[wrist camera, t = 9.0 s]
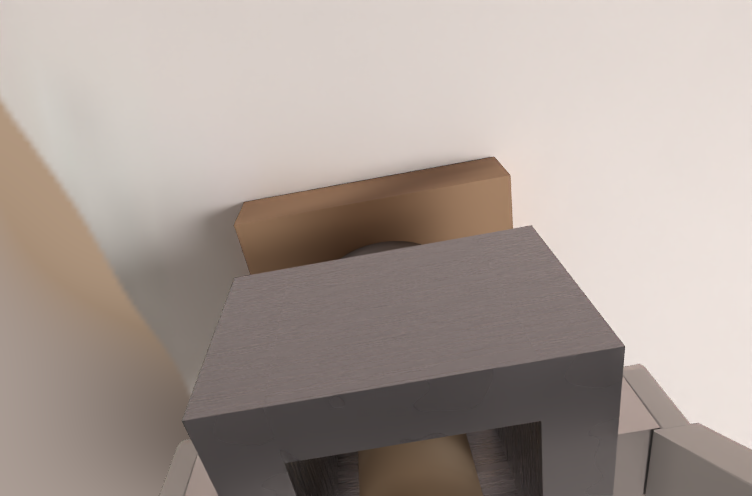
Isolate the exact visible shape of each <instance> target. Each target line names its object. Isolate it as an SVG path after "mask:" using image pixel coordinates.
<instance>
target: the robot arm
mask: <svg viewBox="0 0 752 496" xmlns="http://www.w3.org/2000/svg"><path fill="white" fill-rule="evenodd" d="M159 496H218V494H217V492H216V490H215V488H214V486H213V484H212V482H211V480H210V478H209V476H208V474H207V472H206V470H205V468H204V465H203V463H202V461H201V459H200V457H199V455H198V453H197V451H196V449H195V447H194V445H193V443H192V441H191V439H189V440H183V441H182V442H181V443H180V444H179V445H178V446H177V448H176V451H175V453H174V456H173V459H172V462H171V464H170V467H169V470H168V473H167V475H166V478H165V481H164V484H163V486H162V489H161V493H160V495H159ZM613 496H752V450H751V449H749V448H747V447H745V446H743V445H741V444H739V443H737V442H735V441H733V440H731V439H729V438H727V437H725V436H723V435H721V434H719V433H717V432H715V431H713V430H711V429H710V428H708V427H706V426H704V425H702V424H700V423H693V424H690V423H689V421H688V420H687V419H686V418H685V416H684V415H683V414H682V413H681V411H680V410H679V409H678V408H677V406H676V405H675V404H674V403H673V401H672V400H671V399H670V398H669V396H668V395H667V394H666V393H665V391H664V390H663V389H662V388H661V386H660V385H659V384H658V383H657V381H656V380H655V379H654V378H653V376H652V375H651V374H650V373H649V371H648V370H647V369H646V368H645V367H644V366H643V365H641V364H636V365H630V366H625V367H623V378H622V390H621V402H620V415H619V427H618V439H617V452H616V464H615V477H614V489H613Z"/></svg>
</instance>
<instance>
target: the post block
mask: <svg viewBox="0 0 752 496" xmlns="http://www.w3.org/2000/svg"><path fill="white" fill-rule="evenodd" d="M234 227H235V230H236V233H237V236H238V239H239V242H240V245H241V248H242V251H243V254H244V257H245V260H246V263H247V266H248V269H249V272H250V275H253V274H259V273H264V272H270V271H276V270H281V269H287V268H293V267H298V266H304V265H310V264H315V263H321V262H327V261H333V260H338V259H344V258H350V257H355V256H361V255H367V254H372V253H378V252H384V251H389V250H395V249H401V248H406V247H412V246H418V245H423V244H429V243H435V242H440V241H446V240H452V239H457V238H463V237H469V236H474V235H480V234H486V233H491V232H497V231H503V230H508V229H513V221H512V199H511V177H510V174H509V173H508V172H507V171H506V170H505V168H504V167H503V166H502V165H501V164H500V163H499V162H498V160H497V159H496V158H495V157H491V158H485V159H480V160H474V161H468V162H463V163H457V164H452V165H446V166H441V167H435V168H430V169H424V170H419V171H413V172H408V173H402V174H397V175H391V176H386V177H380V178H375V179H369V180H364V181H358V182H353V183H347V184H342V185H336V186H331V187H325V188H320V189H314V190H308V191H303V192H297V193H292V194H286V195H281V196H275V197H270V198H264V199H259V200H253V201H248V202H244V204H243V206H242V208H241V210H240V213H239V215H238V217H237V219H236V221H235V224H234ZM358 467H359V496H483V493H482V490H481V486H480V482H479V479H478V475H477V471H476V468H475V464H474V460H473V457H472V453H471V450H470V446H469V442H468V439H467V435H466V433H465V434H459V435H452V436H446V437H440V438H434V439H428V440H422V441H416V442H410V443H404V444H398V445H392V446H386V447H380V448H374V449H368V450H362V451H358Z"/></svg>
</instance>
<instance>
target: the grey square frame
mask: <svg viewBox="0 0 752 496" xmlns="http://www.w3.org/2000/svg"><path fill="white" fill-rule="evenodd" d="M624 353H625V346H624V344H623V343H622V342H621V340H620V339H619V338H618V337H617V335H616V334H615V333H614V331H613V330H612V329H611V327H610V326H609V325H608V324H607V322H606V321H605V320H604V318H603V317H602V316H601V315H600V313H599V312H598V311H597V309H596V308H595V307H594V305H593V304H592V303H591V302H590V300H589V299H588V298H587V296H586V295H585V294H584V293H583V291H582V290H581V289H580V287H579V286H578V285H577V283H576V282H575V281H574V280H573V278H572V277H571V276H570V274H569V273H568V272H567V271H566V269H565V268H564V267H563V265H562V264H561V263H560V261H559V260H558V259H557V258H556V256H555V255H554V254H553V252H552V251H551V250H550V249H549V247H548V246H547V245H546V243H545V242H544V241H543V239H542V238H541V237H540V236H539V234H538V233H537V232H536V230H535V229H534V228H533V227H532V225H531V226H525V227H520V228H514V229H508V230H503V231H497V232H491V233H486V234H480V235H474V236H469V237H463V238H457V239H452V240H446V241H440V242H435V243H429V244H423V245H418V246H412V247H406V248H401V249H395V250H389V251H384V252H378V253H372V254H367V255H361V256H355V257H350V258H344V259H338V260H333V261H327V262H321V263H315V264H310V265H304V266H298V267H293V268H287V269H281V270H276V271H270V272H264V273H259V274H253V275H247V276H242V277H236V278H234V281H233V284H232V286H231V289H230V292H229V294H228V297H227V300H226V302H225V305H224V308H223V311H222V313H221V316H220V319H219V321H218V324H217V327H216V330H215V332H214V335H213V338H212V340H211V343H210V346H209V349H208V351H207V354H206V357H205V359H204V362H203V365H202V368H201V370H200V373H199V376H198V378H197V381H196V384H195V387H194V389H193V392H192V395H191V397H190V400H189V403H188V406H187V408H186V411H185V414H184V416H183V419H182V422H183V424H184V427H185V428H186V430H187V432H188V435H189V437H190V439H191V441H192V443H193V445H194V447H195V449H196V451H197V453H198V455H199V457H200V459H201V461H202V463H203V465H204V468H205V470H206V472H207V474H208V476H209V478H210V480H211V482H212V484H213V486H214V488H215V490H216V492H217V494H218V496H359V467H358V451H362V450H368V449H374V448H380V447H386V446H392V445H398V444H404V443H410V442H416V441H422V440H428V439H434V438H440V437H446V436H452V435H459V434H465V433H466V435H467V439H468V442H469V446H470V450H471V453H472V457H473V460H474V464H475V468H476V471H477V475H478V479H479V482H480V486H481V490H482V493H483V496H613V489H614V477H615V464H616V452H617V439H618V427H619V415H620V402H621V390H622V378H623V365H624Z"/></svg>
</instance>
